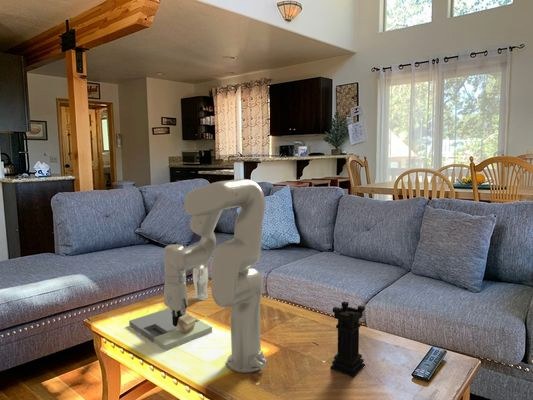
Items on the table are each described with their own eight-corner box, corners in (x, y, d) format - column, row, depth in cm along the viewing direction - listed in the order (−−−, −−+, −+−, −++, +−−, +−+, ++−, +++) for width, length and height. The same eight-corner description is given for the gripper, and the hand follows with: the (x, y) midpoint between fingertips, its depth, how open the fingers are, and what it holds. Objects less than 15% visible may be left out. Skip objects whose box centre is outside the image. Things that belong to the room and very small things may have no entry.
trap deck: (212, 331, 155) (211, 327, 155) (165, 350, 142) (164, 345, 141) (173, 310, 175) (173, 306, 175) (129, 325, 162) (129, 320, 162)
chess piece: (342, 358, 135) (343, 300, 132) (365, 366, 130) (366, 306, 127) (330, 368, 129) (330, 308, 126) (353, 377, 124) (354, 315, 121)
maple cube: (193, 329, 153) (196, 319, 152) (185, 334, 150) (187, 324, 148) (185, 323, 155) (187, 313, 154) (176, 327, 152) (178, 317, 150)
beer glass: (192, 296, 192) (191, 265, 190) (207, 294, 194) (206, 263, 192) (194, 301, 186) (193, 269, 184) (210, 299, 188) (208, 268, 186)
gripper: (156, 275, 154) (158, 321, 157) (177, 285, 143) (179, 334, 146) (173, 271, 159) (175, 315, 162) (195, 280, 148) (197, 328, 151)
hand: (177, 324), depth 154 cm, fingers closed
